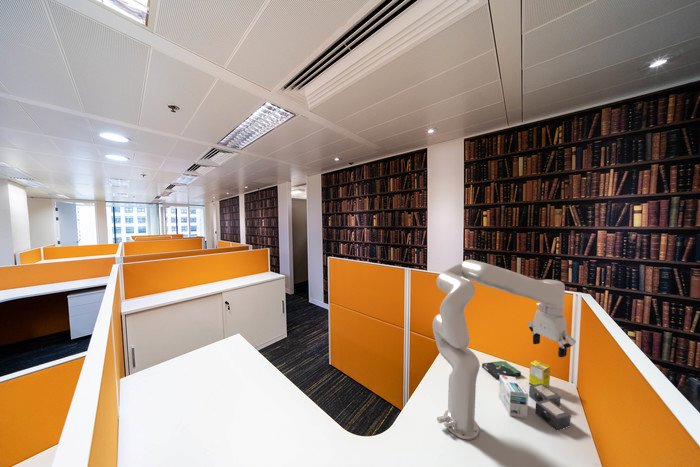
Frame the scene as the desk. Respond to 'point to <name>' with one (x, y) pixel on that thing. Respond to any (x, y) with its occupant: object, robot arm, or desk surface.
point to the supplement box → (539, 373)
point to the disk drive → (501, 369)
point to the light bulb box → (513, 396)
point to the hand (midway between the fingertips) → (548, 349)
